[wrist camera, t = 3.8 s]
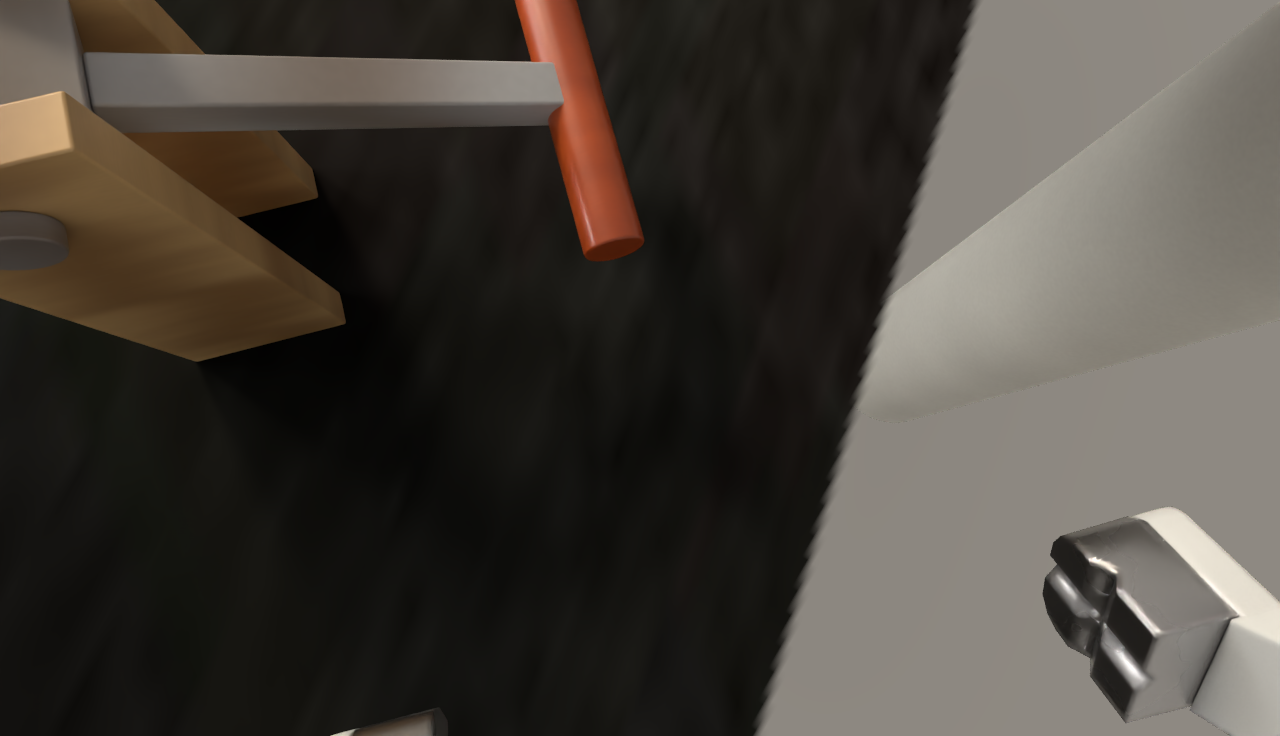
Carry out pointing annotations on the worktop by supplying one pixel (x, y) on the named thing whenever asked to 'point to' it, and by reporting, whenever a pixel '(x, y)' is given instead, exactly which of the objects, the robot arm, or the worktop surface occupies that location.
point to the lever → (347, 97)
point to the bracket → (151, 215)
